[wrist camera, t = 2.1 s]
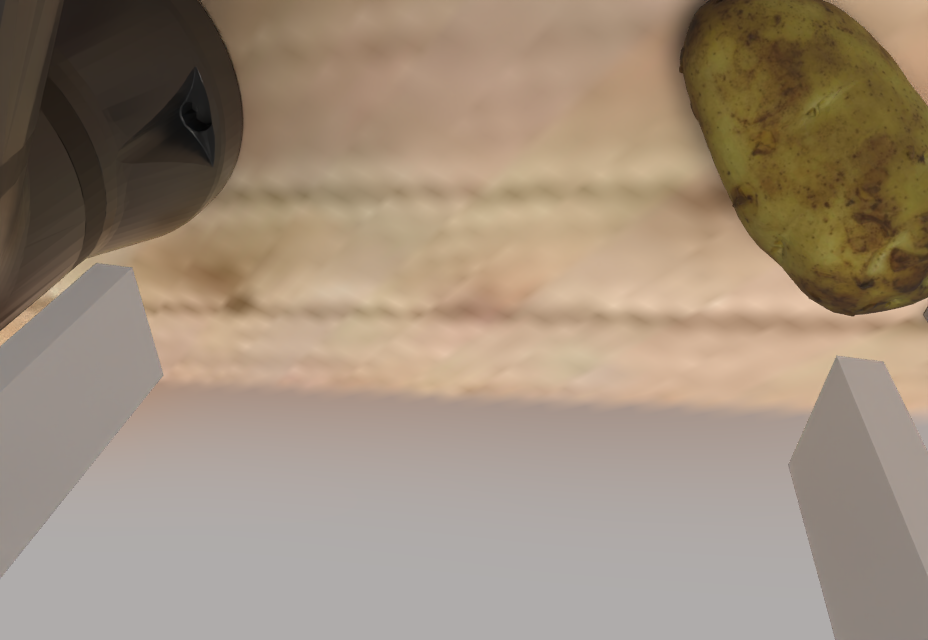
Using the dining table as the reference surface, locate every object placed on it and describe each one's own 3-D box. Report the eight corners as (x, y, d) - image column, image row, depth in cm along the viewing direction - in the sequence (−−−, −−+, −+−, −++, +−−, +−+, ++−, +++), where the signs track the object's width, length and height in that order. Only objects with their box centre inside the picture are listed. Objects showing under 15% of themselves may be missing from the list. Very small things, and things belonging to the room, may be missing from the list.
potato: (894, -95, 25) (991, -64, 18) (932, 213, 31) (1014, 317, 25) (660, 4, 28) (673, 59, 22) (736, 266, 34) (764, 370, 28)
